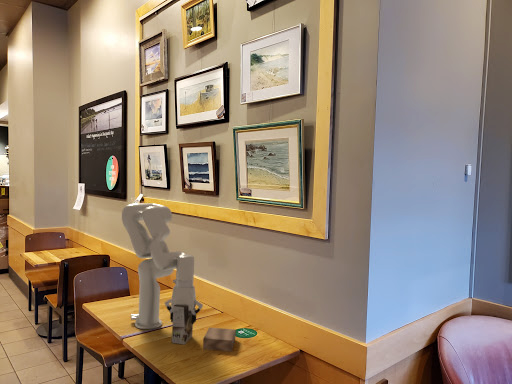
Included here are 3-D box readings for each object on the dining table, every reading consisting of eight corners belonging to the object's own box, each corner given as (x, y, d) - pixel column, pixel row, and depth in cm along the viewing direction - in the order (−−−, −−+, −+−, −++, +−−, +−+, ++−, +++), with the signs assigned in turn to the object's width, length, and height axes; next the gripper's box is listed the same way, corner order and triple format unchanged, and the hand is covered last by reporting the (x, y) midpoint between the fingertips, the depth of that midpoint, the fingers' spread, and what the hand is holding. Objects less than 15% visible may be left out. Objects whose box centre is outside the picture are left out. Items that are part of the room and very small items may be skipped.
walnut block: (202, 350, 162) (203, 338, 162) (208, 338, 174) (209, 327, 174) (231, 352, 161) (231, 340, 161) (235, 340, 173) (235, 329, 173)
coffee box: (185, 344, 165) (186, 307, 165) (171, 342, 167) (172, 305, 166) (192, 336, 174) (194, 301, 174) (179, 334, 176) (180, 299, 175)
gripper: (162, 283, 167) (160, 323, 168) (201, 287, 165) (199, 327, 165) (168, 279, 175) (167, 317, 175) (206, 282, 172) (204, 321, 173)
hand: (183, 322), depth 170 cm, fingers open, 8 cm apart
